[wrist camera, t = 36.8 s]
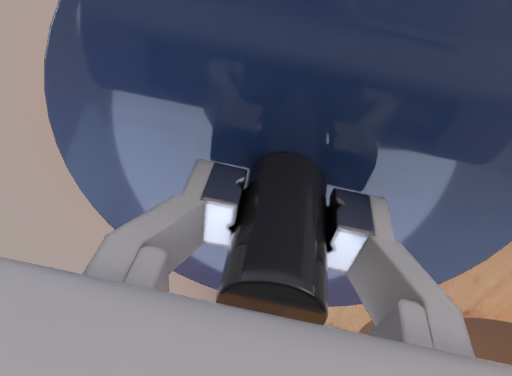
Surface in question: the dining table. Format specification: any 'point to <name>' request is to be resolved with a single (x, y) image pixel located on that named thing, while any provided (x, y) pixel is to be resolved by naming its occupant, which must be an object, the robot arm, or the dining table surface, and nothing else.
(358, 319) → the dining table surface
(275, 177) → the lid
